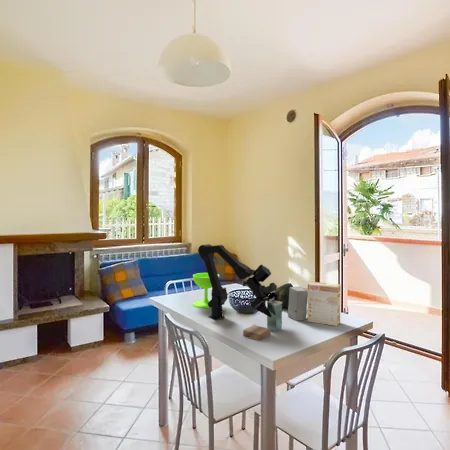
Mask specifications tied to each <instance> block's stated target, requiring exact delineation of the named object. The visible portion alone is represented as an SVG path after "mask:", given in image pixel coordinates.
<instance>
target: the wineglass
mask: <svg viewBox="0 0 450 450" xmlns="http://www.w3.org/2000/svg"><path fill="white" fill-rule="evenodd" d="M217 274H218V273H217ZM218 277H219V278H220V274H218ZM192 279H193V282H194V283H195V285H196V286H198V287H199V288H201V289H203V290H204V298H203V299H202V300H197V301H194V302H193V303H192V306H193V307H194V308H197V309H211V307H209V306H208V302H209V301H210V300H211V299H208V298H209V296H208V291H209V289H212V286H211V282H210V279H209V275H208V272H199V273H195V274H192Z"/></svg>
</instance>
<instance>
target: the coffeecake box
mask: <svg viewBox="0 0 450 450" xmlns="http://www.w3.org/2000/svg"><path fill="white" fill-rule="evenodd" d="M341 285H342V284H338V283H326V282H319V281H310V282H309V283H307V291H308V297H307V322H311V323H315V324H316V323H317V324H323V325H329V326H333V325H334V326H333V327H338V326H339V325H340V324H341V298H342V297H341V294H342V293H341V292H342V291H341V289H342V287H341ZM339 323H340V324H339ZM337 325H338V326H337Z"/></svg>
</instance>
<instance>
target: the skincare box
mask: <svg viewBox="0 0 450 450" xmlns="http://www.w3.org/2000/svg"><path fill="white" fill-rule="evenodd" d="M287 309H288V310H287V317H289V318H291V319H292V320H294V321H296V322H298V321H306V320H307V313H308V289H305V288H303V287H300V286H293V287H290V292H289V306H288V307H287Z"/></svg>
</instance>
